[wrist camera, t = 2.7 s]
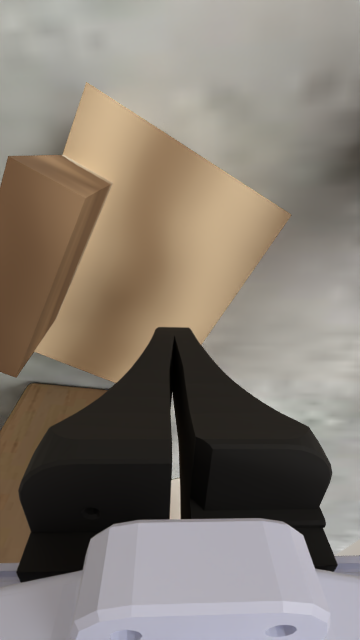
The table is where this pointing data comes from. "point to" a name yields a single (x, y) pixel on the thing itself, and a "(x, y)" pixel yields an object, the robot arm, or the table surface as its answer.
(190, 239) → the oak step
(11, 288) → the walnut block
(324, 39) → the table surface
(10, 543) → the wooden block
